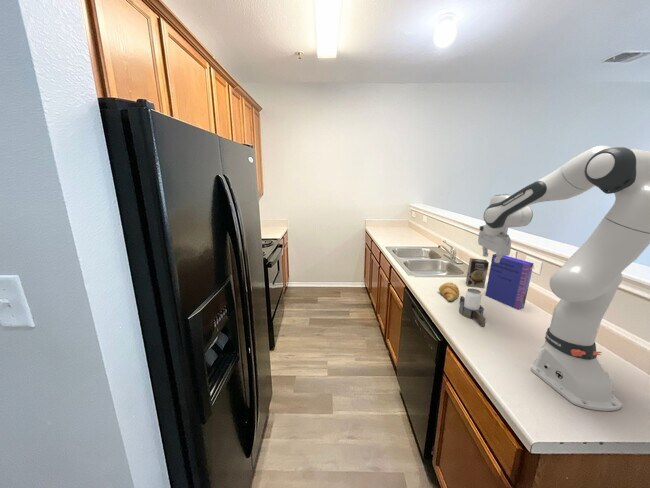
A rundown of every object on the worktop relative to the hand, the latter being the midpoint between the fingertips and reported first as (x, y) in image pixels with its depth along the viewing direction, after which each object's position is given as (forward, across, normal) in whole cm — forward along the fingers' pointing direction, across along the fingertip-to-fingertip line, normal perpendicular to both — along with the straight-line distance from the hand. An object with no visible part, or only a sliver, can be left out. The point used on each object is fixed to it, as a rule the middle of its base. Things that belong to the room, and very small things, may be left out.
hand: (490, 259), depth 127 cm
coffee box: (+27, +32, -13) cm, 44 cm away
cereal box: (+27, +11, -17) cm, 34 cm away
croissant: (+27, +18, +9) cm, 33 cm away
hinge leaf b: (+27, -1, +7) cm, 27 cm away
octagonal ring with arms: (+26, -7, +7) cm, 28 cm away
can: (+27, -4, +7) cm, 28 cm away
